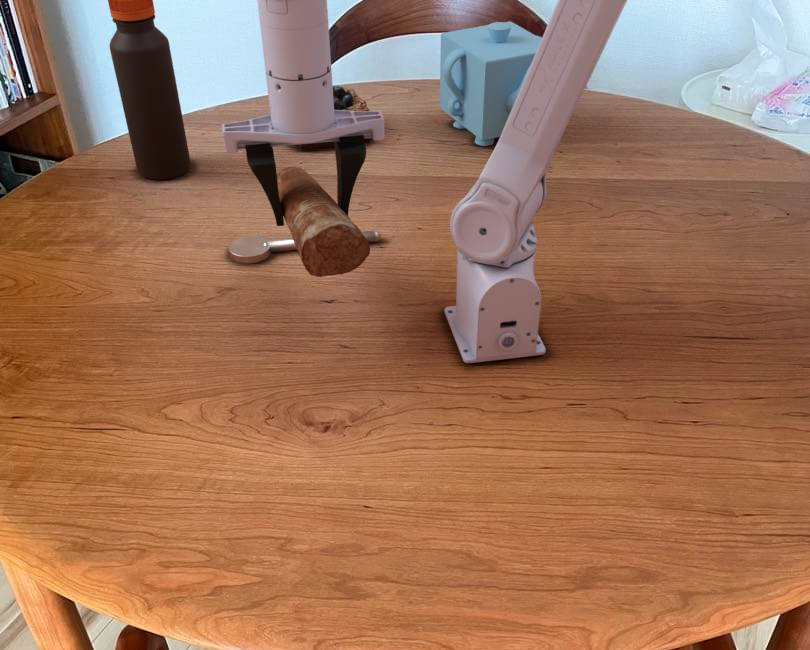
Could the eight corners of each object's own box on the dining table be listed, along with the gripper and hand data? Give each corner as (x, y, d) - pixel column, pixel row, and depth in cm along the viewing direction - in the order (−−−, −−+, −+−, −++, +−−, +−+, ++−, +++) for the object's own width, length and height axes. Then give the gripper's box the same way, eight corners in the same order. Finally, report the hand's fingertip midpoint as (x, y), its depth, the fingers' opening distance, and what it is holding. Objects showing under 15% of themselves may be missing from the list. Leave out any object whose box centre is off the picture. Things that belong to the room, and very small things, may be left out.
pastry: (277, 123, 126) (272, 79, 122) (360, 112, 128) (358, 68, 124) (294, 155, 119) (289, 108, 114) (382, 143, 121) (381, 97, 117)
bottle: (175, 184, 113) (139, 4, 99) (127, 176, 115) (85, -1, 100) (200, 162, 117) (170, -13, 103) (154, 155, 119) (118, -18, 105)
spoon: (383, 250, 101) (383, 240, 100) (230, 265, 99) (229, 255, 98) (377, 231, 104) (376, 221, 103) (228, 245, 102) (227, 235, 101)
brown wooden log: (304, 290, 82) (302, 231, 78) (265, 200, 94) (262, 145, 91) (372, 283, 83) (373, 225, 79) (324, 195, 96) (323, 141, 92)
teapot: (422, 123, 125) (423, 19, 116) (520, 103, 130) (528, 2, 121) (484, 174, 114) (490, 64, 105) (590, 150, 118) (604, 43, 109)
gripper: (373, 47, 82) (378, 193, 92) (212, 59, 80) (234, 206, 90) (386, 75, 77) (390, 225, 87) (215, 88, 76) (238, 240, 85)
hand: (311, 218), depth 88 cm, fingers closed on brown wooden log, 5 cm apart
